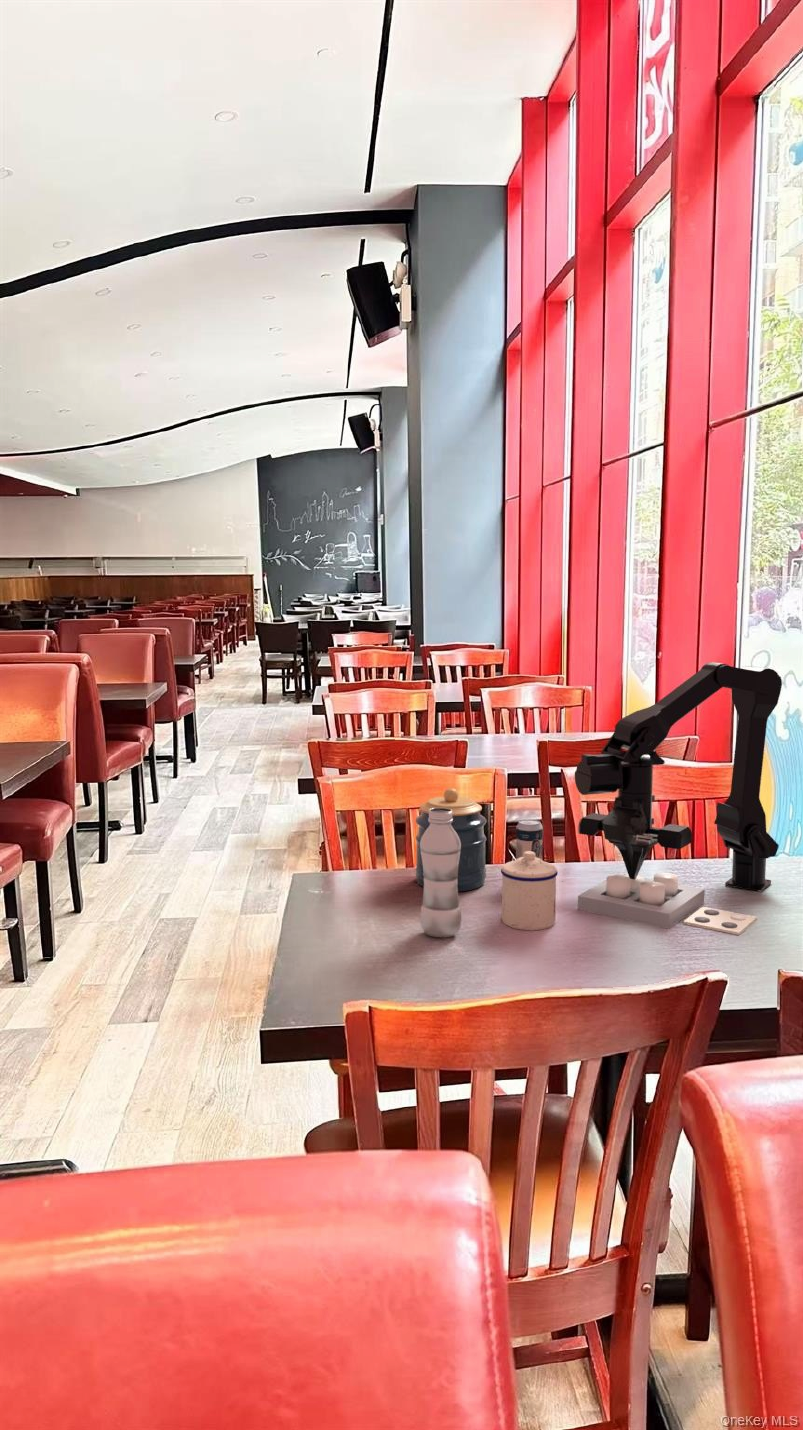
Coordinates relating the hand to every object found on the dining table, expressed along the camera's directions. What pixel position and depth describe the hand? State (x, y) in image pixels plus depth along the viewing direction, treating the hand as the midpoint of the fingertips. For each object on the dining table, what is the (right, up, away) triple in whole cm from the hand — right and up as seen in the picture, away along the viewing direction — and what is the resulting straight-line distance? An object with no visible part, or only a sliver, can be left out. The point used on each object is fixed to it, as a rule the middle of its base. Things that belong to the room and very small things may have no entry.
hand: (632, 878), depth 173 cm
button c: (-4, -2, -5) cm, 6 cm away
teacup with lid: (-20, -5, -10) cm, 23 cm away
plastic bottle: (-34, -6, -17) cm, 39 cm away
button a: (0, -3, 0) cm, 3 cm away
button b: (+5, -2, -3) cm, 6 cm away
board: (+1, -4, -4) cm, 6 cm away
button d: (+1, -3, -8) cm, 9 cm away
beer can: (-17, -3, +8) cm, 19 cm away
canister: (-31, -3, +10) cm, 33 cm away
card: (+11, -5, -12) cm, 17 cm away
